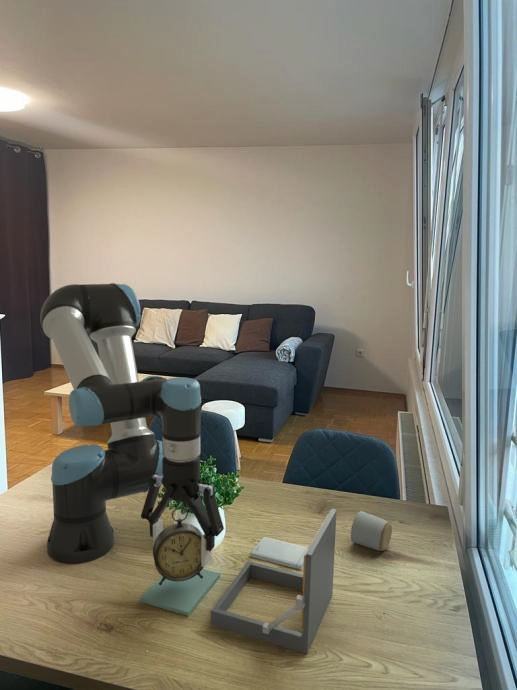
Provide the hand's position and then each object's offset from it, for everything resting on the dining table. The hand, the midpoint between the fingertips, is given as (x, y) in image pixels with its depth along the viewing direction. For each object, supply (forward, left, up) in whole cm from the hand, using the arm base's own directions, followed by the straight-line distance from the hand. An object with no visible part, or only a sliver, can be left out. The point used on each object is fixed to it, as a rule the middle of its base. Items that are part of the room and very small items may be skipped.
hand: (181, 557), depth 112 cm
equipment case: (+20, +1, -7) cm, 21 cm away
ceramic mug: (+33, +34, -7) cm, 49 cm away
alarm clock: (0, 0, -5) cm, 5 cm away
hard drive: (+15, +21, -8) cm, 27 cm away
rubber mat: (0, 0, -7) cm, 7 cm away
